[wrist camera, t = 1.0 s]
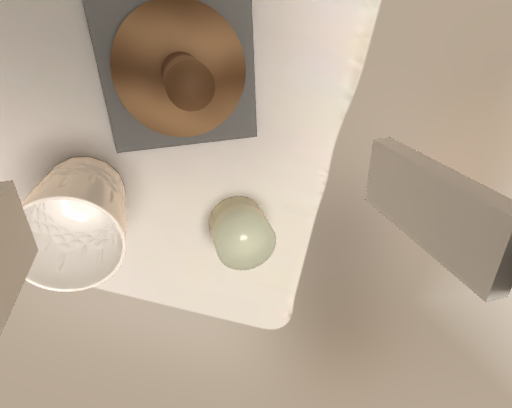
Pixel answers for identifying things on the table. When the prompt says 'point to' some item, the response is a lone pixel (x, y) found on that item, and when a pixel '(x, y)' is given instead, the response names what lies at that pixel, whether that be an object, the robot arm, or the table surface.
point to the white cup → (77, 225)
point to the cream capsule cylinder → (241, 233)
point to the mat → (122, 122)
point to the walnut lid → (178, 67)
